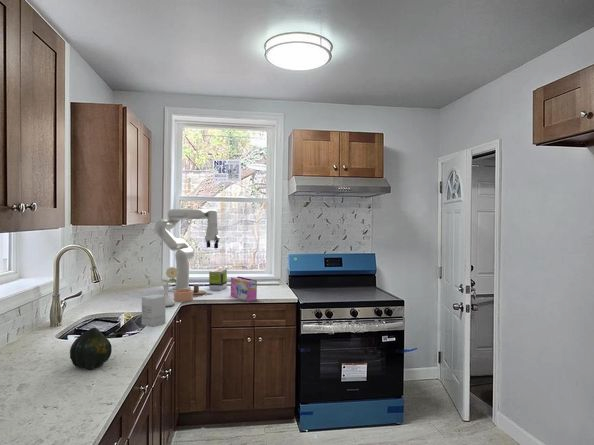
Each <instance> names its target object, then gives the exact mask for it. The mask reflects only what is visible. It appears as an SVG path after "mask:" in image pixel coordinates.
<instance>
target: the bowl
mask: <svg viewBox="0 0 594 445" xmlns="http://www.w3.org/2000/svg"><path fill="white" fill-rule="evenodd" d="M193 290H194V289H192V288H191V289H179V290H176V289H174V292H173V300H174V301H175V302H189V301H192V300H193V299H194V297H193Z"/></svg>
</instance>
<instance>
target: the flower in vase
mask: <svg viewBox="0 0 594 445" xmlns="http://www.w3.org/2000/svg"><path fill="white" fill-rule="evenodd" d="M165 275H166V276H167V278H169V280H165V279H162V281H163V282H167V283H162V288H163V289H164V290H163V292H164V294H163V296H165V307H170V306H174V305H175V304H176V301H175V300H174V298H172V297H170V295H169V288H170V286H171V283H169V282H172V283H176V277H177V276H178V271H177V270H176V267H173V266H170V267H169V268H166V271H165Z"/></svg>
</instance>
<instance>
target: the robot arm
mask: <svg viewBox="0 0 594 445" xmlns="http://www.w3.org/2000/svg"><path fill="white" fill-rule="evenodd" d="M218 215H219V214H218V210H217V209H206V208H205V209H204V208H198V209H194V208H192V209H191V208H189V209H188V208H171V209H169V210H168V212H167V217H168V218H160V219H158V220H157V221H155V224H154V232H155V233H156V235H157V236H158V238H160V239H161V241H163V243H164V244H165V245H166V246H167V248H169V249H170V250H171V251H176V252H175V256H174V257H175V263H176V266H175V268H176V270H177V271H178V276H177V277H175V280H176V282H174V287H173V289H174V290H179V289H191V290H192V287H191V286H189V285H190V265H189V260H192V259H193V258H194V256H195V251H194V250H193V248H192V247H191V246H190V244H188V243H187V242H186V240H184V239H183V238H179V237H175V236H174V235H173V234H172V233H171V232H170V231H169V230H172V229H173V228H175V227H176V225H178V224H179V223H180V221H183V220H186V221H188V220H207V225H206V226H207V227H206V231H205V235H204V238H205V243H206V248H211V241H213V242H214V243H213V244H214V246H213V248H214V249H218V248H219V243H220V239H221V238H220V236H219V230H218Z"/></svg>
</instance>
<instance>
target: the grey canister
mask: <svg viewBox="0 0 594 445" xmlns="http://www.w3.org/2000/svg"><path fill="white" fill-rule="evenodd" d="M163 324H166V306H165V296H164V295H161V294H150V295H144V296H141V325H143V326H147V327H153V328H154V327H158V326H160V325H163Z"/></svg>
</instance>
